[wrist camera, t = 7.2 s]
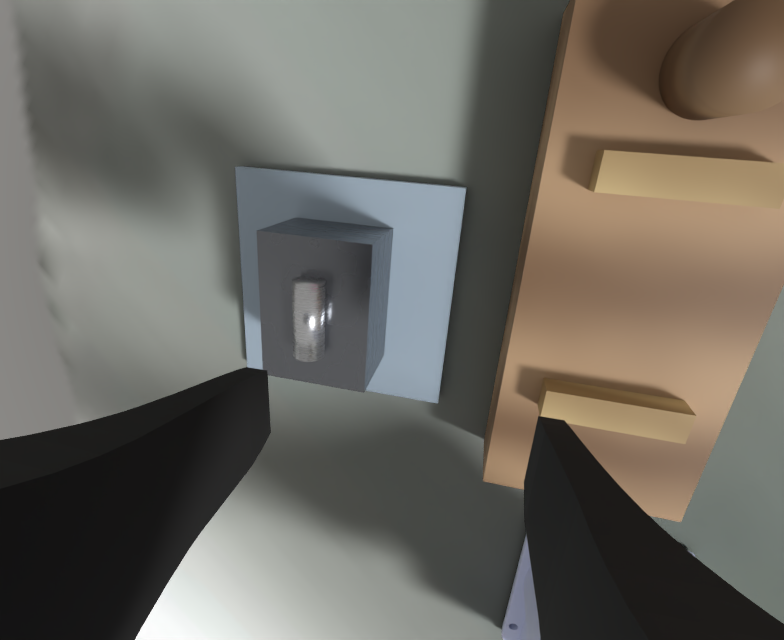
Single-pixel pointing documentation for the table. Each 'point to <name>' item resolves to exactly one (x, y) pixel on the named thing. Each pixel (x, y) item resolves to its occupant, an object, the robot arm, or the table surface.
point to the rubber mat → (408, 261)
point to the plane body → (646, 240)
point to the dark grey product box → (324, 300)
